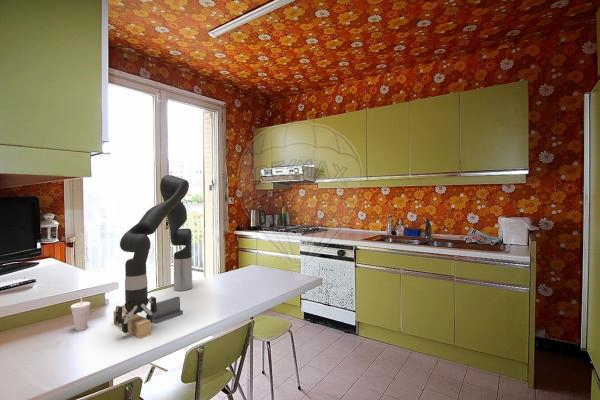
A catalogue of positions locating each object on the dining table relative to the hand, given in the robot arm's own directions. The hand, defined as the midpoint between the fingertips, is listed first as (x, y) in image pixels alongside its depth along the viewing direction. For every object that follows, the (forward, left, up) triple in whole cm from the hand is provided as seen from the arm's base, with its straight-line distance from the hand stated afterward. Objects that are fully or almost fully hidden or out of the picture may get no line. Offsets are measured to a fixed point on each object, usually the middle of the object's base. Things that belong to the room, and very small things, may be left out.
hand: (137, 328), depth 116 cm
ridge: (-5, +14, -1) cm, 15 cm away
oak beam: (-5, 0, -2) cm, 5 cm away
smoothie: (-21, -12, -2) cm, 24 cm away
